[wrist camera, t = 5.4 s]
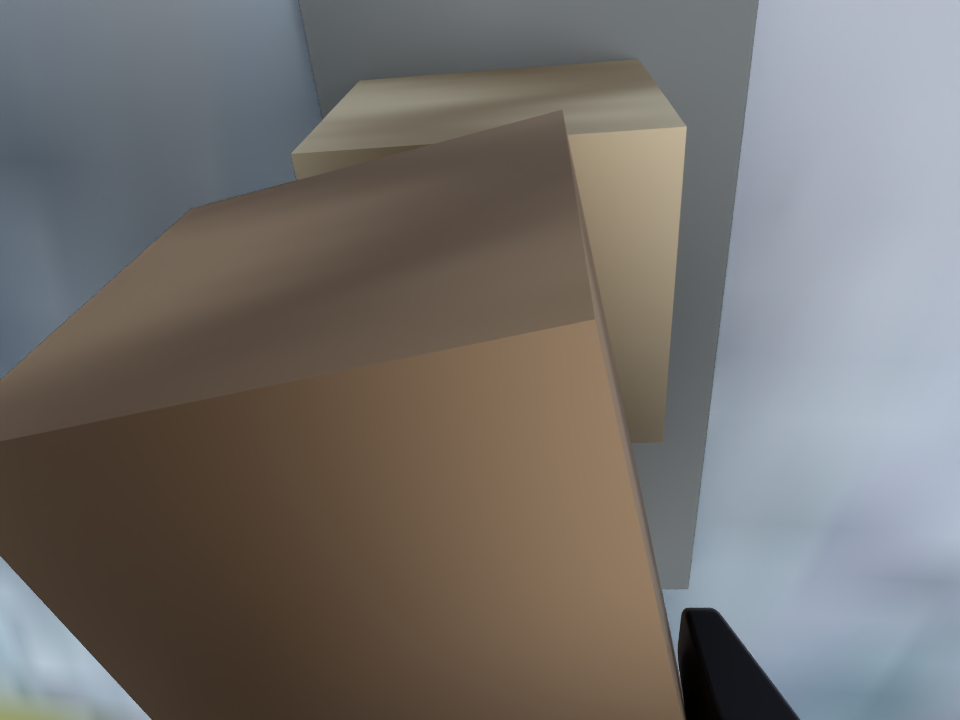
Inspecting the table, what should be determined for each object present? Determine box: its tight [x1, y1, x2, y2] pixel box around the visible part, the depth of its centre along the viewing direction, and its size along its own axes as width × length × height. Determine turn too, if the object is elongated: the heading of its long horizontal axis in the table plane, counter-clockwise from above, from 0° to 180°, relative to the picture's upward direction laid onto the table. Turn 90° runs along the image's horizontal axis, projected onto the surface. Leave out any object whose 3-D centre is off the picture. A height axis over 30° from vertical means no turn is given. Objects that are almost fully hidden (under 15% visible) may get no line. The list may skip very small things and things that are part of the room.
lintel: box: [0, 110, 687, 720], centre depth 8 cm, size 4×12×4 cm, turn 15°
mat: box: [298, 0, 759, 589], centre depth 15 cm, size 7×14×1 cm, turn 5°
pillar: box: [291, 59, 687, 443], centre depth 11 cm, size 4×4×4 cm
